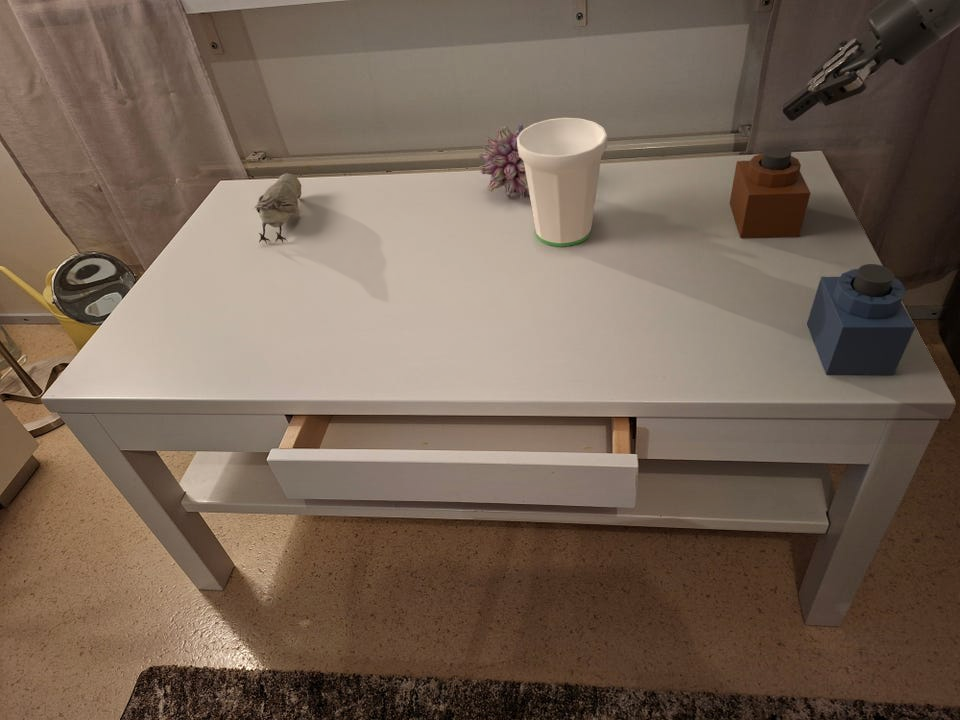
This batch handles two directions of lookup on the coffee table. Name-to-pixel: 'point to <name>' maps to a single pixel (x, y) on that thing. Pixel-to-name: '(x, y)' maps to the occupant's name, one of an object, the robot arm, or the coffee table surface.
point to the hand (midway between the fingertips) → (786, 114)
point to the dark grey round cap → (873, 280)
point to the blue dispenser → (859, 327)
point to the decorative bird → (279, 203)
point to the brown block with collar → (768, 199)
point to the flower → (505, 162)
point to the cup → (562, 176)
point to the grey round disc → (776, 158)
